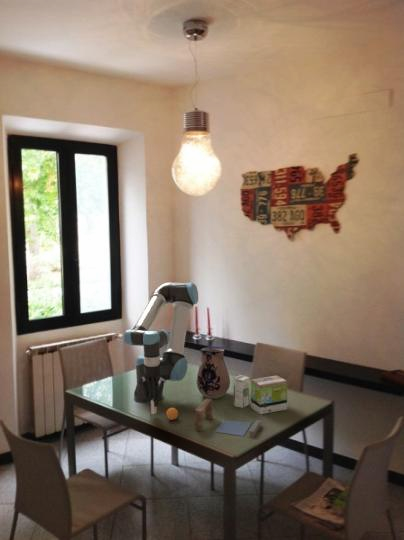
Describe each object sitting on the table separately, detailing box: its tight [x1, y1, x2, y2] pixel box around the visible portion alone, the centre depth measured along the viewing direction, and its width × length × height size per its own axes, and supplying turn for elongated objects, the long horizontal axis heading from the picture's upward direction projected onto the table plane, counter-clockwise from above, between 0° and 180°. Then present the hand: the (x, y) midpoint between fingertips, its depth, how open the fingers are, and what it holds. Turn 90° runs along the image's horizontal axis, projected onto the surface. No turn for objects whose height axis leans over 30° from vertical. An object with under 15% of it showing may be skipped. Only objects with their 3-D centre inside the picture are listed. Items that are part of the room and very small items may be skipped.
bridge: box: [194, 398, 214, 432], centre depth 223 cm, size 3×14×9 cm, turn 159°
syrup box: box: [233, 374, 250, 409], centre depth 243 cm, size 6×6×14 cm
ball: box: [165, 407, 179, 421], centre depth 229 cm, size 6×6×6 cm
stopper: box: [248, 419, 262, 438], centre depth 214 cm, size 2×12×2 cm, turn 159°
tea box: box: [250, 375, 288, 415], centre depth 238 cm, size 15×10×15 cm
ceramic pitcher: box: [196, 345, 231, 400], centre depth 258 cm, size 18×21×25 cm
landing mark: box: [214, 419, 252, 437], centre depth 218 cm, size 13×13×1 cm
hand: (153, 412), depth 232 cm, fingers closed
